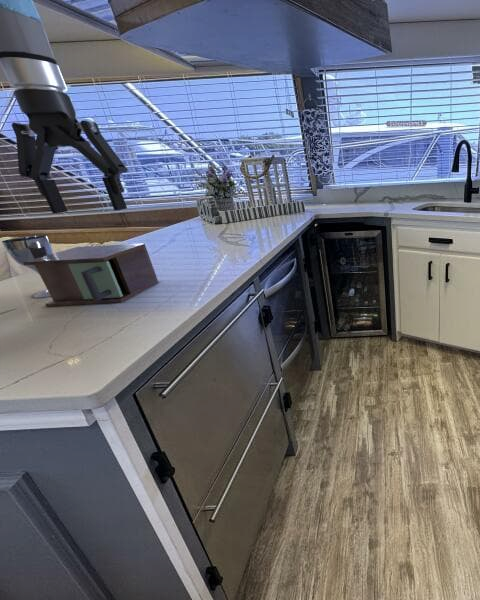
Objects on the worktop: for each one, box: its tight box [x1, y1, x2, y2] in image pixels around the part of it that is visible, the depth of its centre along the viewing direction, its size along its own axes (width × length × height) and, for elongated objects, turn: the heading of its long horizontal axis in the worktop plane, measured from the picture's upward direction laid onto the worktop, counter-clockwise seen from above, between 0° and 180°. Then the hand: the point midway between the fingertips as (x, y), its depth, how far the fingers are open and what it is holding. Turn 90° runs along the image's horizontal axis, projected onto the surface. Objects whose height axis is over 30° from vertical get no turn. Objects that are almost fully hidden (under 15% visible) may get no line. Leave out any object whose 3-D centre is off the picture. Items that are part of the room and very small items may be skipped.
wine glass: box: [1, 234, 54, 299], centre depth 85 cm, size 8×8×15 cm
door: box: [68, 261, 123, 301], centre depth 76 cm, size 9×5×9 cm, turn 94°
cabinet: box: [23, 243, 159, 308], centre depth 84 cm, size 18×15×11 cm
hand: (90, 211), depth 68 cm, fingers open, 12 cm apart
